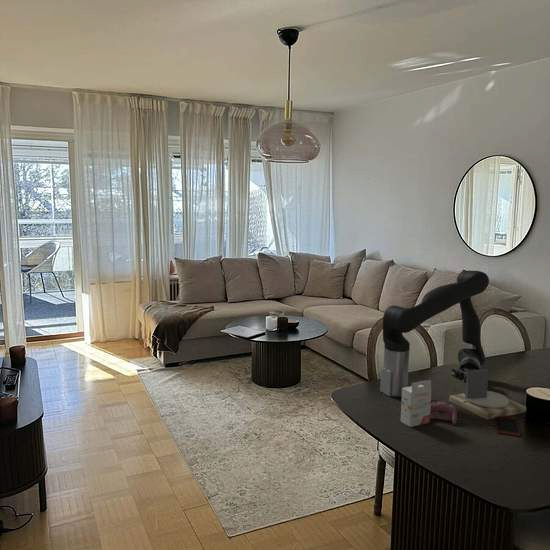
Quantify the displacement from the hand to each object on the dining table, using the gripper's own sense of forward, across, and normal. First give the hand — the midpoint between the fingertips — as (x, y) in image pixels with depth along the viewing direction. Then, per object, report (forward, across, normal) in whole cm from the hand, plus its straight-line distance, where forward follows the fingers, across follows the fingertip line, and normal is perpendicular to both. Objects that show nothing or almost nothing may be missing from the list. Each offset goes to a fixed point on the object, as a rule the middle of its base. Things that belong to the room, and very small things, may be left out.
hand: (468, 381), depth 183 cm
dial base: (-3, +7, +9) cm, 12 cm away
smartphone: (+12, +13, +10) cm, 20 cm away
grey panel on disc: (-3, +7, +7) cm, 10 cm away
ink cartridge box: (+22, -15, +9) cm, 29 cm away
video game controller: (+17, -7, +9) cm, 20 cm away
